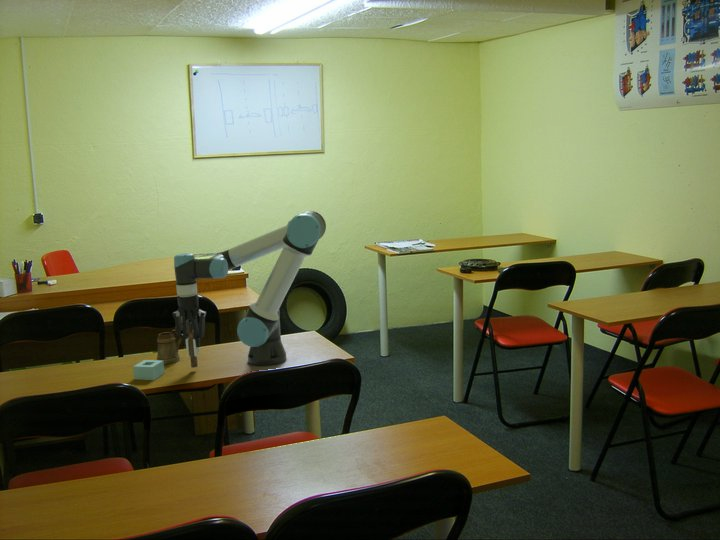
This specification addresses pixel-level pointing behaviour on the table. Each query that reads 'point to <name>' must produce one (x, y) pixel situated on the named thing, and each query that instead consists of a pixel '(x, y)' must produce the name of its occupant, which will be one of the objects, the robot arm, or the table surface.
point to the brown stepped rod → (192, 346)
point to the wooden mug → (168, 346)
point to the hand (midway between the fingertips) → (193, 355)
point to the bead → (148, 369)
